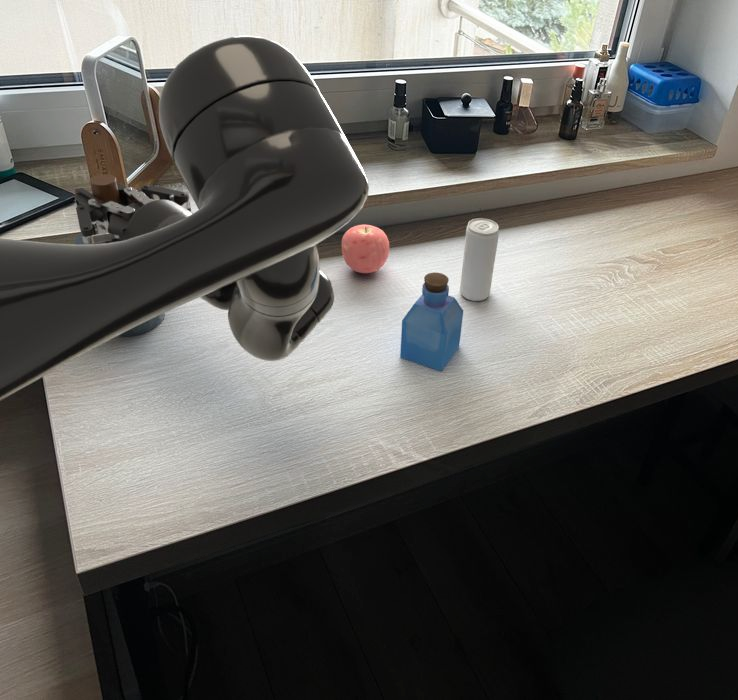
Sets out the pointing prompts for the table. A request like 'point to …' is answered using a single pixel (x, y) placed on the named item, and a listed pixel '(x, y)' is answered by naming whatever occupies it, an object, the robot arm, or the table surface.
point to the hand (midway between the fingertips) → (93, 191)
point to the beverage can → (479, 258)
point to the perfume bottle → (432, 325)
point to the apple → (365, 248)
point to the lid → (103, 195)
